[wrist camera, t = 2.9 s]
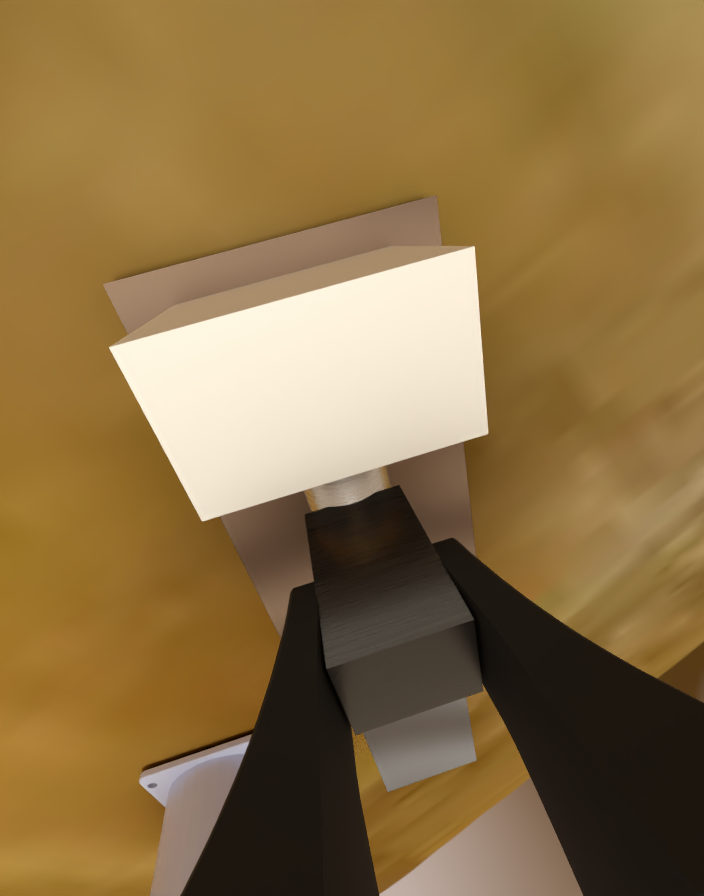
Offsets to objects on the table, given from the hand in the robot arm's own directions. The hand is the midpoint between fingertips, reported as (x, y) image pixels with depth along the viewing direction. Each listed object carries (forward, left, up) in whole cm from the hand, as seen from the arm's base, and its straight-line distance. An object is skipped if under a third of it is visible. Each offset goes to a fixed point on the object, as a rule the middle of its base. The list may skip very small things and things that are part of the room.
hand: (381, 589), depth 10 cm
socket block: (+5, 0, -7) cm, 9 cm away
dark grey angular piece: (-3, 0, -5) cm, 6 cm away
